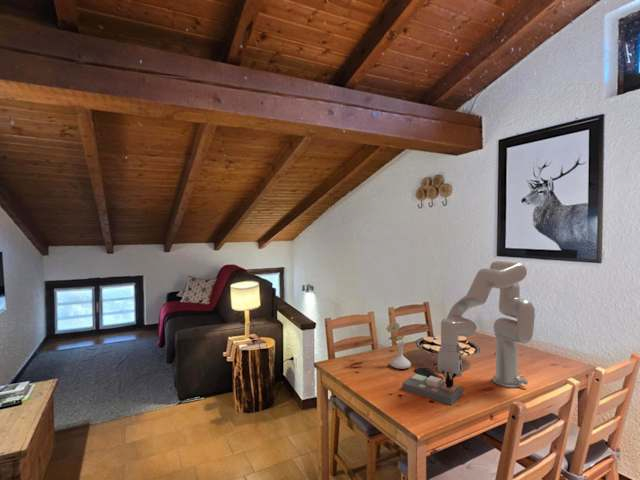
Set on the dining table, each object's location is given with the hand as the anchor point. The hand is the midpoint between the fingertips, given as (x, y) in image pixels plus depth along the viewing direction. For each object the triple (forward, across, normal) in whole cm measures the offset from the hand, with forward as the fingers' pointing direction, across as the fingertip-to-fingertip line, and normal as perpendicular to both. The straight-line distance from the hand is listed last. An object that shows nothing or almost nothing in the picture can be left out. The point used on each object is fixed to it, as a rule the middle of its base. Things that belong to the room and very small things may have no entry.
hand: (449, 386), depth 158 cm
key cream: (+2, +7, 0) cm, 8 cm away
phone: (+4, +17, -14) cm, 23 cm away
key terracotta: (+3, 0, 0) cm, 3 cm away
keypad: (+4, +7, +2) cm, 9 cm away
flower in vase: (+4, +34, -14) cm, 37 cm away
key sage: (+3, +15, 0) cm, 15 cm away
